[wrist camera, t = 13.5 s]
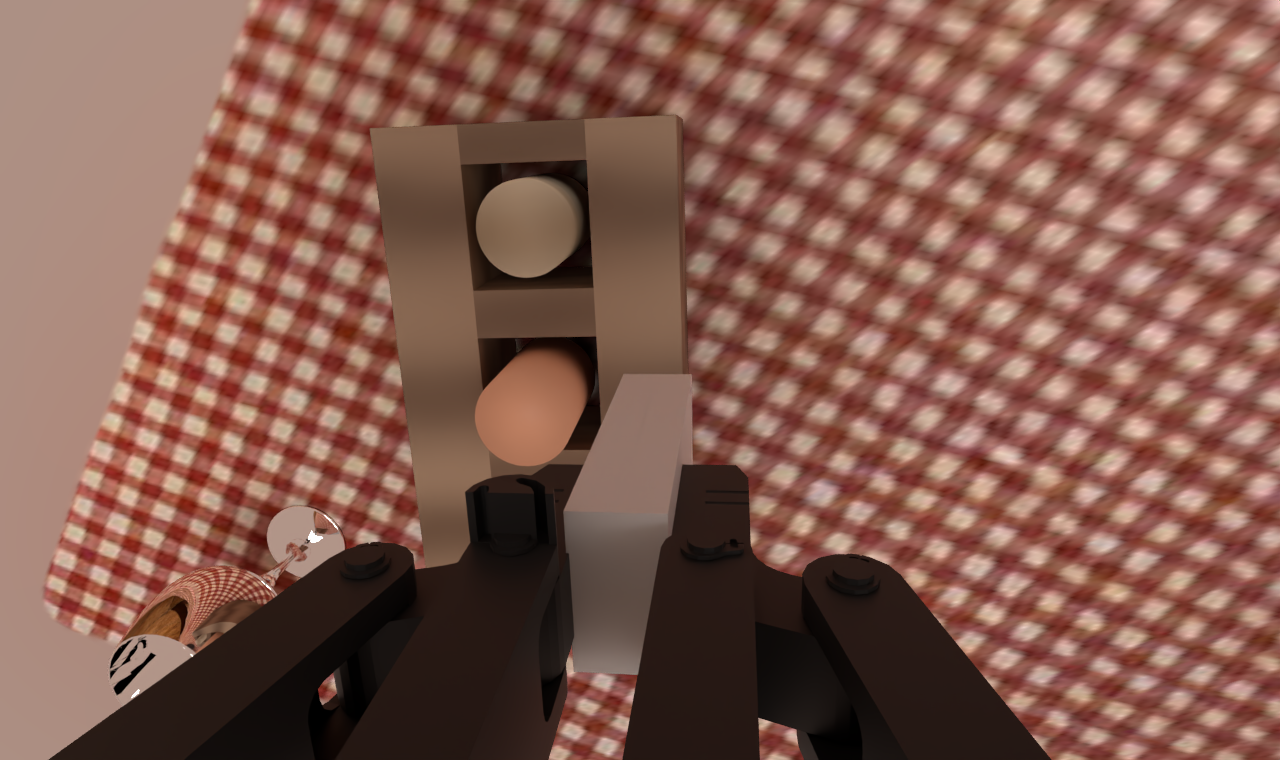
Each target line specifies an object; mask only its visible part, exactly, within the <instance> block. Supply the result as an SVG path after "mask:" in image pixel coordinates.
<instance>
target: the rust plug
mask: <svg viewBox="0 0 1280 760" xmlns="http://www.w3.org/2000/svg"><path fill="white" fill-rule="evenodd" d="M594 384H595V372H594V368H593V364H592V362H591V360H590V358H589V356H588V355H587V354H586V352H585V351H584V350H583V349H582V348H581V347H580V346H579V345H577V344H576V343H574V342H573V341H571V340H568V339H566V338H563V337H540V338H538V339H535V340H533V341H531V342H530V343H528V344H527V345H526V346H525V347H523V348H522V349H521V351H520V352H519V353H518V354H517V355H516V356H515V357H514V358H513V359H512V360H511V361H510V362H509V363H508V364H507V365H506V367H505V368H504V369H503V370H502V371H501V372H500V373H499V374H498V375H497V376H496V377H495V378H494V379H493V380H492V381H491V382H490V384H489V385H488V386H487V387H486V388H485V389H484V390H483V392H482V393H481V395H480V397H479V399H478V401H477V405H476V409H475V423H476V428H477V431H478V434H479V436H480V438H481V440H482V441H483V443H484V444H485V446H486V447H487V448H488V449H489V450H490V451H491V452H492V453H493V454H494V455H495V456H497V457H498V458H500V459H502V460H503V461H506V462H508V463H511V464H514V465H519V466H536V465H540V464H543V463H546V462H548V461H550V460H552V459H553V458H555V457H556V456H557V455H558V454H560V453H561V451H562V450H563V449H564V448H565V446H566V444H567V443H568V441H569V439H570V437H571V435H572V433H573V431H574V429H575V427H576V425H577V423H578V421H579V419H580V417H581V415H582V413H583V411H584V408H585V406H586V404H587V402H588V400H589V398H590V396H591V394H592V392H593V389H594Z"/></svg>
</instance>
